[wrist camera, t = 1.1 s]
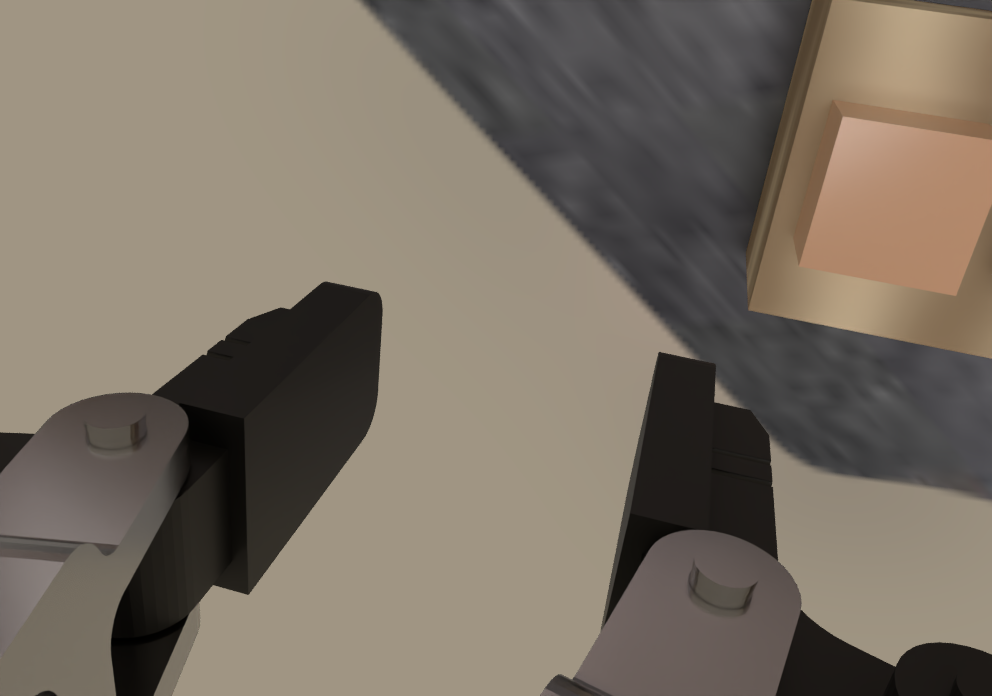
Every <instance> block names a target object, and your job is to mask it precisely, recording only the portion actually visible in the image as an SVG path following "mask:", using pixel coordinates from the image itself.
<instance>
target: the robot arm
mask: <svg viewBox="0 0 992 696" xmlns="http://www.w3.org/2000/svg"><path fill="white" fill-rule="evenodd" d="M381 329H382V300H381V297H380V295H379V293H377V292H373V291H369V290H364V289H359V288H354V287H350V286H345V285H340V284H335V283H330V282H323V283H321V284H320V285H319V286H318V287H316V288H315V289H314V290H313V291H312V292H310V293H309V294H308V295H307V296H306V297H304V298H303V299H302V300H301V301H300V302H298V303H297V304H296V305H295V306H294V307H292V308H291V309H285V308H278V309H275V310H272V311H270V312H267V313H264V314H261V315H259V316H256V317H253V318H250V319H247V320H246V321H245V322H244V323H242V324H241V325H240V326H239V327H238V328H236V329H235V330H233V331H232V332H231V333H230V334H228V335H227V336H226V338H225V341H223V340H221V341H219V342H218V343H217V344H216V345H214V346H213V347H212V348H211V349H209V350H208V352H207V355H202V356H200V357H199V358H198V359H197V360H195V361H194V362H193V363H192V364H190V365H189V366H188V367H186V368H185V369H184V370H183V371H181V372H180V373H179V374H178V375H176V376H175V377H174V378H172V379H171V380H170V381H169V382H167V383H166V384H165V385H164V386H162V387H161V388H160V389H159V390H157V391H156V392H155V393H154V394H152V395H150V394H143V393H113V394H105V395H100V396H95V397H91V398H87V399H84V400H81V401H78V402H75V403H73V404H70V405H69V406H67V407H65V408H63V409H61V410H59V411H58V412H57V413H55V414H54V415H52V416H51V417H50V418H49V419H48V420H47V421H46V422H45V423H44V424H43V426H42V427H41V428H40V429H39V430H38V431H37V432H36V433H35V434H25V433H24V434H23V433H0V696H172V694H173V691H174V689H175V687H176V684H177V682H178V679H179V677H180V674H181V672H182V670H183V667H184V665H185V662H186V660H187V658H188V655H189V653H190V650H191V648H192V646H193V643H194V641H195V638H196V636H197V633H198V630H199V627H200V607H199V602H200V600H201V599H202V598H203V597H204V595H205V594H206V593H207V592H208V590H209V589H210V588H211V587H212V585H215V586H219V587H222V588H226V589H229V590H233V591H237V592H240V593H244V594H247V595H248V594H249V593H250V592H251V591H252V589H253V588H254V586H255V585H256V584H257V582H258V581H259V580H260V578H261V577H262V576H263V574H264V573H265V572H266V570H267V569H268V568H269V566H270V565H271V563H272V562H273V561H274V560H275V558H276V557H277V555H278V554H279V552H280V551H281V550H282V549H283V547H284V546H285V545H286V543H287V542H288V541H289V539H290V538H291V536H292V535H293V534H294V533H295V531H296V530H297V528H298V527H299V526H300V524H301V523H302V522H303V520H304V519H305V518H306V516H307V515H308V513H309V512H310V511H311V509H312V508H313V507H314V505H315V504H316V503H317V501H318V500H319V499H320V497H321V496H322V495H323V493H324V492H325V490H326V489H327V488H328V486H329V485H330V484H331V482H332V481H333V480H334V478H335V477H336V476H337V474H338V473H339V472H340V470H341V469H342V467H343V466H344V465H345V463H346V462H347V461H348V459H349V458H350V457H351V455H352V454H353V453H354V451H355V450H356V449H357V447H358V446H359V444H360V443H361V442H362V440H363V439H364V437H365V436H366V434H367V432H368V429H369V427H370V425H371V422H372V419H373V416H374V412H375V408H376V403H377V396H378V380H379V363H380V347H381ZM715 372H716V365H715V364H714V363H709V362H704V361H699V360H695V359H690V358H685V357H680V356H676V355H671V354H666V353H661V352H659V353H658V357H657V361H656V365H655V370H654V374H653V379H652V383H651V388H650V392H649V396H648V401H647V405H646V410H645V415H644V419H643V423H642V428H641V432H640V437H639V441H638V445H637V450H636V454H635V459H634V464H633V468H632V473H631V477H630V482H629V487H628V492H627V497H626V502H625V507H624V512H623V517H622V522H621V527H620V533H619V538H618V544H617V548H616V554H615V559H614V564H613V569H612V574H611V579H610V585H609V590H608V595H607V601H606V606H605V611H604V616H603V621H602V626H601V632H600V634H599V636H598V638H597V640H596V641H595V643H594V645H593V646H592V648H591V650H590V651H589V653H588V655H587V656H586V658H585V660H584V661H583V663H582V665H581V667H580V668H579V670H578V672H577V673H576V675H575V677H574V678H573V679H569V678H568V677H566V676H564V675H561V674H558V675H557V676H555V677H554V678H553V679H552V680H551V681H550V683H549V684H548V685H547V686H546V687H545V689H544V690H543V692H542V693H541V695H540V696H992V655H991V654H989V653H986V652H984V651H981V650H978V649H975V648H971V647H968V646H963V645H958V644H953V643H940V642H939V643H926V644H922V645H919V646H915V647H913V648H912V649H910V650H908V651H907V652H906V653H905V654H903V655H902V656H901V658H900V660H899V661H898V663H897V665H896V667H895V666H893V665H890V664H888V663H886V662H884V661H882V660H880V659H878V658H876V657H874V656H872V655H870V654H868V653H866V652H864V651H862V650H860V649H858V648H856V647H854V646H852V645H850V644H848V643H846V642H844V641H842V640H841V639H839V638H837V637H835V636H833V635H832V634H830V633H829V632H827V631H826V630H824V629H823V628H821V627H820V626H819V625H818V624H816V623H815V622H814V621H813V620H811V619H810V618H809V617H808V616H807V615H806V614H805V613H804V612H803V611H802V610H801V595H800V592H799V589H798V587H797V584H796V583H795V581H794V579H793V578H792V576H791V575H790V573H789V572H788V571H787V570H786V569H785V567H784V566H782V565H781V564H780V563H779V562H778V555H777V540H776V526H775V512H774V498H773V487H771V486H772V469H771V466H770V462H771V455H770V441H769V435H768V433H767V432H766V431H765V429H764V428H763V427H762V425H761V424H760V423H759V421H758V420H757V419H756V417H755V416H754V414H753V413H752V412H751V410H747V409H742V408H738V407H733V406H729V405H724V404H719V403H715V402H714V396H715Z"/></svg>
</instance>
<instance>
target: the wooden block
mask: <svg viewBox="0 0 992 696" xmlns="http://www.w3.org/2000/svg"><path fill="white" fill-rule="evenodd" d="M833 100H839V101H845V102H851V103H858V104H864V105H871V106H877V107H884V108H890V109H896V110H903V111H909V112H916V113H922V114H928V115H935V116H941V117H948V118H954V119H961V120H967V121H973V122H980V123H986V124H989V125H991V126H992V11H988V10H981V9H973V8H966V7H959V6H951V5H944V4H936V3H929V2H922V1H914V0H812V3H811V7H810V10H809V14H808V18H807V22H806V26H805V29H804V33H803V37H802V41H801V45H800V49H799V52H798V56H797V60H796V64H795V68H794V71H793V75H792V79H791V83H790V87H789V91H788V94H787V98H786V102H785V106H784V110H783V113H782V117H781V121H780V125H779V129H778V133H777V136H776V140H775V144H774V148H773V152H772V155H771V159H770V163H769V167H768V171H767V175H766V178H765V182H764V186H763V190H762V194H761V197H760V201H759V205H758V209H757V213H756V217H755V220H754V224H753V228H752V232H751V236H750V239H749V243H748V247H747V251H746V266H747V293H748V310H750V311H755V312H760V313H765V314H770V315H775V316H780V317H785V318H790V319H795V320H800V321H805V322H811V323H816V324H821V325H826V326H831V327H836V328H841V329H846V330H851V331H856V332H861V333H866V334H871V335H876V336H881V337H886V338H891V339H896V340H901V341H906V342H911V343H916V344H921V345H926V346H931V347H936V348H941V349H946V350H951V351H956V352H961V353H966V354H971V355H976V356H981V357H986V358H992V205H991V207H990V210H989V213H988V215H987V218H986V220H985V223H984V225H983V228H982V231H981V233H980V236H979V238H978V241H977V243H976V246H975V248H974V251H973V254H972V256H971V259H970V261H969V264H968V266H967V269H966V272H965V274H964V277H963V279H962V282H961V284H960V287H959V289H958V292H957V295H956V296H953V295H947V294H942V293H937V292H932V291H926V290H921V289H916V288H910V287H905V286H900V285H894V284H889V283H884V282H879V281H873V280H868V279H863V278H857V277H852V276H847V275H841V274H836V273H831V272H826V271H820V270H815V269H810V268H804V267H799V265H798V260H797V255H796V250H795V244H794V239H793V237H794V233H795V230H796V226H797V223H798V219H799V216H800V212H801V209H802V205H803V202H804V198H805V195H806V191H807V188H808V184H809V181H810V177H811V174H812V171H813V167H814V164H815V160H816V157H817V153H818V150H819V146H820V143H821V139H822V136H823V132H824V129H825V125H826V122H827V118H828V115H829V111H830V108H831V104H832V101H833Z"/></svg>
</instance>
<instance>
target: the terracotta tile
mask: <svg viewBox="0 0 992 696" xmlns="http://www.w3.org/2000/svg"><path fill="white" fill-rule="evenodd" d="M991 205H992V126H991V125H989V124H986V123H980V122H973V121H967V120H961V119H954V118H948V117H941V116H935V115H928V114H922V113H916V112H909V111H903V110H896V109H890V108H884V107H877V106H871V105H864V104H858V103H851V102H845V101H839V100H833V101H832V104H831V108H830V111H829V115H828V118H827V122H826V125H825V129H824V132H823V136H822V139H821V143H820V146H819V150H818V153H817V157H816V160H815V164H814V167H813V171H812V174H811V177H810V181H809V184H808V188H807V191H806V195H805V198H804V202H803V205H802V209H801V212H800V216H799V219H798V223H797V226H796V230H795V233H794V237H793V239H794V244H795V250H796V255H797V260H798V265H799V267H804V268H810V269H815V270H820V271H826V272H831V273H836V274H841V275H847V276H852V277H857V278H863V279H868V280H873V281H879V282H884V283H889V284H894V285H900V286H905V287H910V288H916V289H921V290H926V291H932V292H937V293H942V294H947V295H953V296H956V295H957V292H958V289H959V287H960V284H961V282H962V279H963V277H964V274H965V272H966V269H967V266H968V264H969V261H970V259H971V256H972V254H973V251H974V248H975V246H976V243H977V241H978V238H979V236H980V233H981V231H982V228H983V225H984V223H985V220H986V218H987V215H988V213H989V210H990V207H991Z"/></svg>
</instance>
